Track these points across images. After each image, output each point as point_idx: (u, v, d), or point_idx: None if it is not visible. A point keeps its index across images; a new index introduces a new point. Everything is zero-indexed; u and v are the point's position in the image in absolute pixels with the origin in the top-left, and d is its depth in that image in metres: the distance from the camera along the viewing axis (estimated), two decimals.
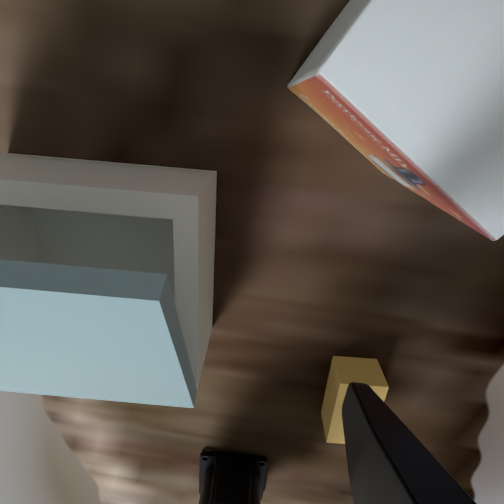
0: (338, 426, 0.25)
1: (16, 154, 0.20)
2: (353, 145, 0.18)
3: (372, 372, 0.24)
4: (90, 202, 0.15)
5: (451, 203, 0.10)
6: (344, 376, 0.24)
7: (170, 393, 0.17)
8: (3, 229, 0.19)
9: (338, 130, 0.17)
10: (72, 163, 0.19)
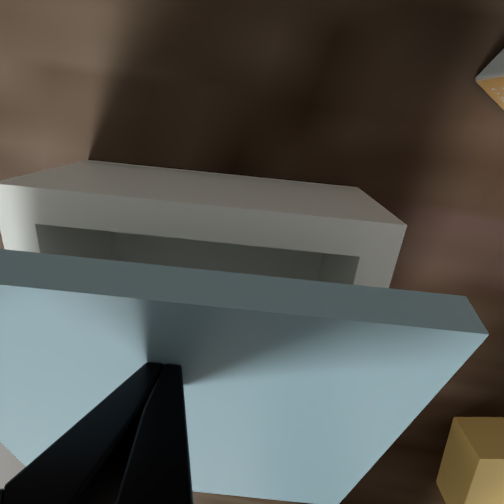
0: None
1: (99, 161, 0.15)
2: None
3: None
4: (244, 231, 0.10)
5: None
6: (480, 447, 0.19)
7: (326, 485, 0.12)
8: None
9: None
10: (180, 174, 0.14)
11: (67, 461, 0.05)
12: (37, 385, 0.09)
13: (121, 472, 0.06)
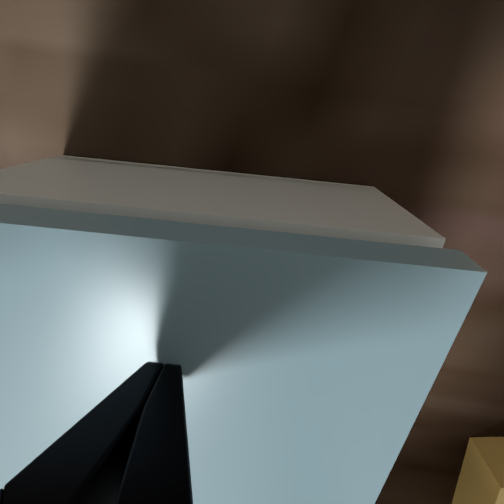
0: None
1: (76, 157, 0.13)
2: None
3: None
4: None
5: None
6: (501, 473, 0.17)
7: None
8: None
9: None
10: (168, 172, 0.12)
11: (67, 461, 0.05)
12: (31, 364, 0.08)
13: (121, 472, 0.06)
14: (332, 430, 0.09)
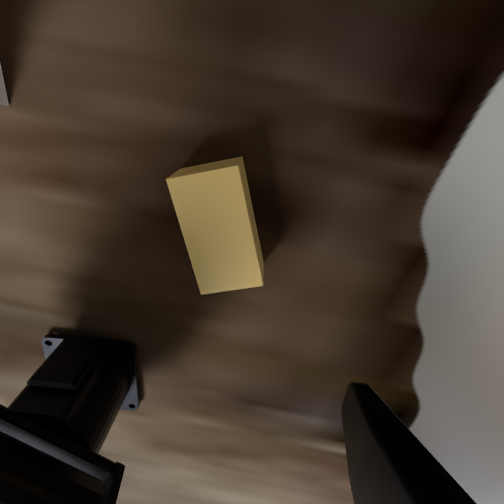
0: (203, 261, 0.17)
1: None
2: None
3: (224, 163, 0.16)
4: None
5: None
6: (179, 174, 0.16)
7: None
8: None
9: None
10: None
11: None
12: None
13: None
14: None
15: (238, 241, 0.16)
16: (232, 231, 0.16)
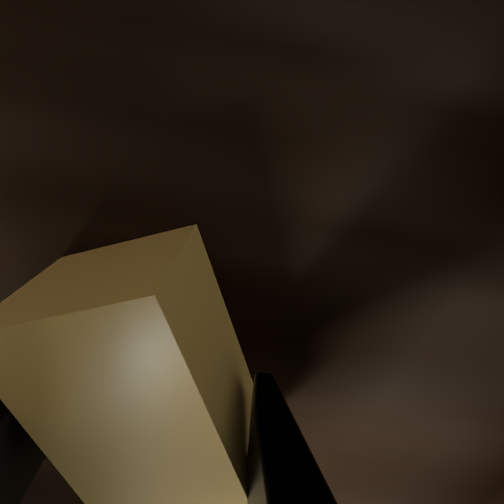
0: (110, 499, 0.07)
1: None
2: None
3: (137, 265, 0.06)
4: None
5: None
6: (9, 307, 0.06)
7: None
8: None
9: None
10: None
11: None
12: None
13: (1, 460, 0.06)
14: None
15: (190, 463, 0.06)
16: (170, 445, 0.06)
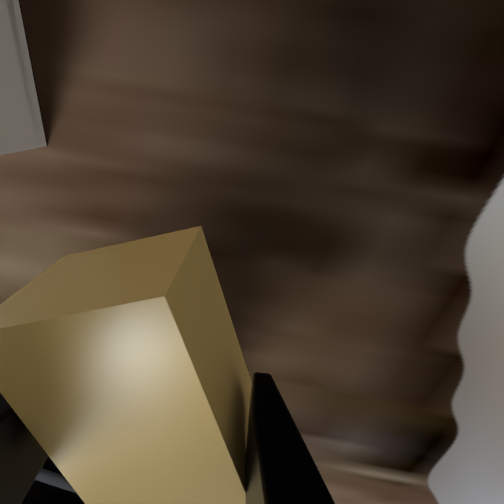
0: (110, 498, 0.07)
1: None
2: None
3: (144, 266, 0.06)
4: None
5: None
6: (15, 306, 0.06)
7: None
8: None
9: None
10: None
11: None
12: None
13: (3, 460, 0.06)
14: None
15: (193, 462, 0.06)
16: (172, 445, 0.06)
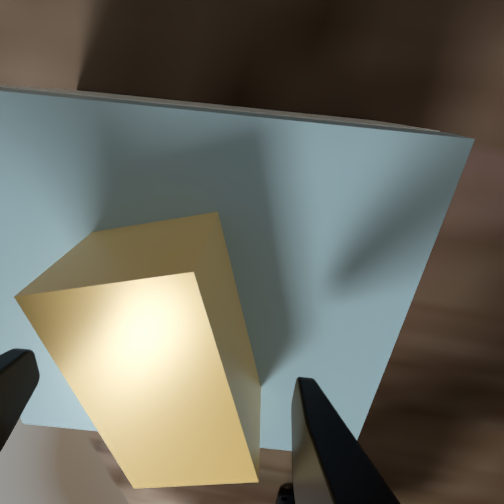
0: (130, 442, 0.08)
1: (89, 91, 0.14)
2: None
3: (170, 245, 0.07)
4: None
5: None
6: (58, 274, 0.07)
7: (338, 412, 0.12)
8: None
9: None
10: None
11: None
12: (58, 249, 0.09)
13: None
14: (334, 317, 0.10)
15: (204, 414, 0.07)
16: (188, 398, 0.07)
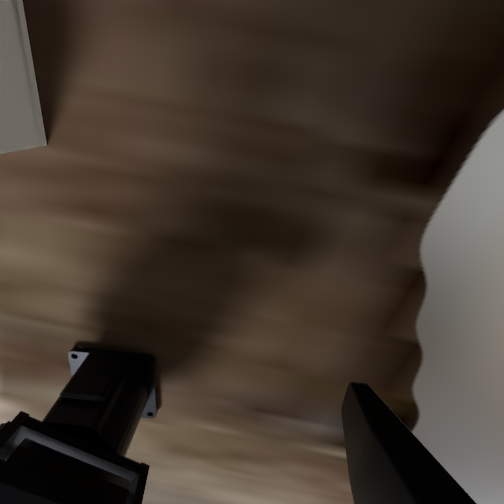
0: None
1: None
2: None
3: None
4: None
5: None
6: None
7: None
8: None
9: None
10: None
11: None
12: None
13: None
14: None
15: None
16: None
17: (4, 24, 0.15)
